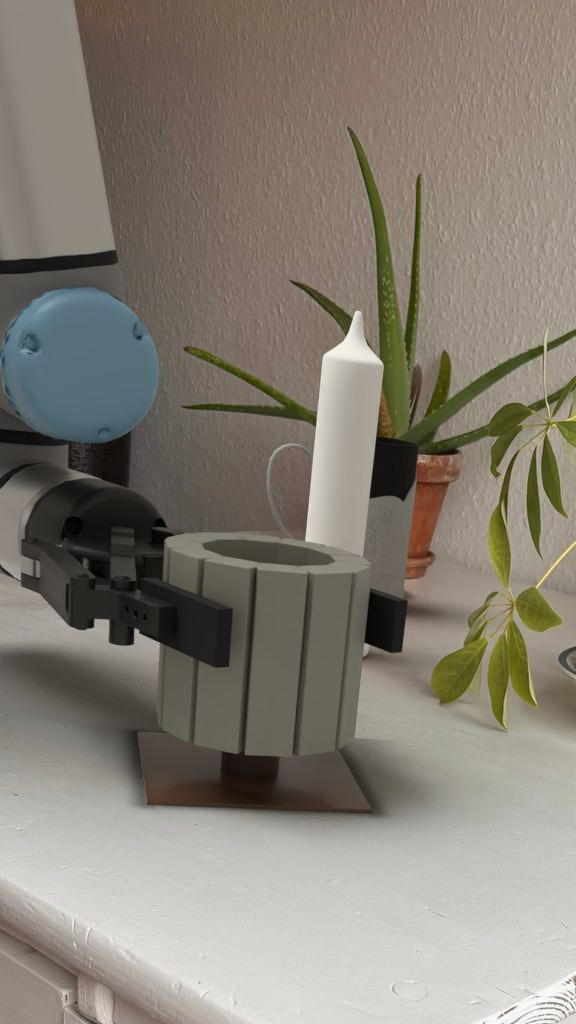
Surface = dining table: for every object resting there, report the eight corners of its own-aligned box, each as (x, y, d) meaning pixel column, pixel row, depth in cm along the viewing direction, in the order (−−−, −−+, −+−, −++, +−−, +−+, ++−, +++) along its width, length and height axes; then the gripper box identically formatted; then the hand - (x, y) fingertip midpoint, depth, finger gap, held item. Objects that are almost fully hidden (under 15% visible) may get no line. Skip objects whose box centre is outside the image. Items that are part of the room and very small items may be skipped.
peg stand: (145, 829, 62) (152, 688, 59) (136, 756, 71) (142, 632, 69) (369, 837, 65) (385, 704, 63) (331, 766, 75) (344, 648, 72)
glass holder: (418, 617, 119) (440, 450, 114) (269, 608, 114) (284, 431, 108) (388, 596, 127) (407, 439, 121) (246, 587, 121) (259, 420, 116)
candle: (293, 658, 98) (327, 304, 89) (268, 635, 104) (297, 301, 95) (380, 661, 101) (421, 320, 92) (351, 639, 107) (387, 316, 98)
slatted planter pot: (163, 752, 61) (172, 561, 58) (152, 693, 70) (160, 525, 67) (369, 760, 64) (388, 580, 61) (334, 703, 73) (349, 543, 70)
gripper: (237, 598, 85) (471, 688, 71) (-110, 612, 70) (103, 731, 56) (245, 481, 82) (490, 552, 69) (-115, 469, 67) (109, 556, 53)
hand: (317, 632), depth 62 cm, fingers closed on slatted planter pot, 10 cm apart
